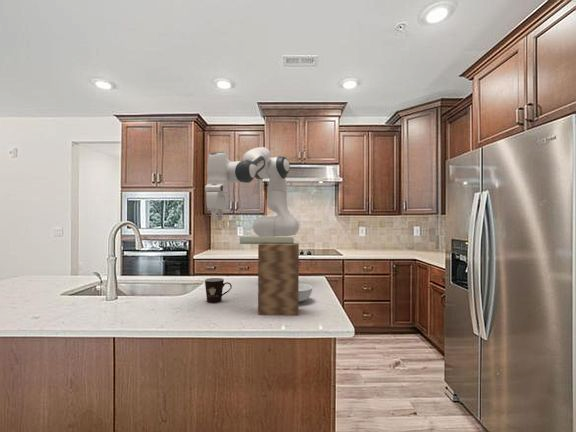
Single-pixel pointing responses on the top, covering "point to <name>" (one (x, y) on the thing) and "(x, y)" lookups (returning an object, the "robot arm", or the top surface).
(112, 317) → the top surface
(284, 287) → the stand
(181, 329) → the top surface
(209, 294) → the coffee mug
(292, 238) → the pale green bar
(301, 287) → the serving bowl
